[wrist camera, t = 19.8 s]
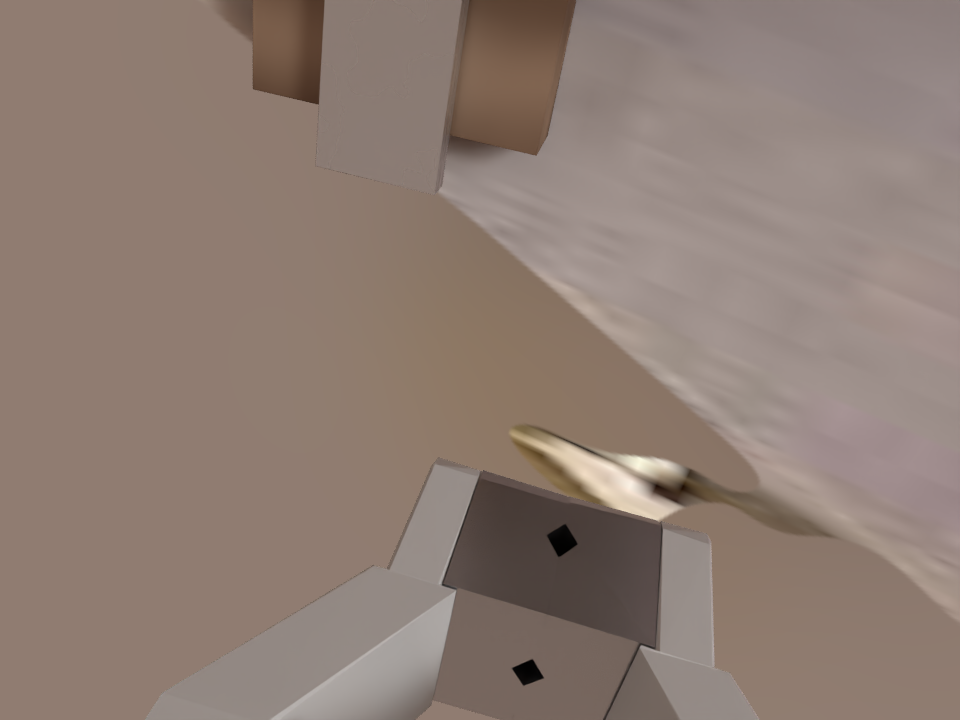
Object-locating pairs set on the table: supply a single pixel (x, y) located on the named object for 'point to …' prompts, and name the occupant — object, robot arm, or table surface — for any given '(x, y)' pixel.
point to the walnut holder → (482, 74)
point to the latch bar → (389, 88)
